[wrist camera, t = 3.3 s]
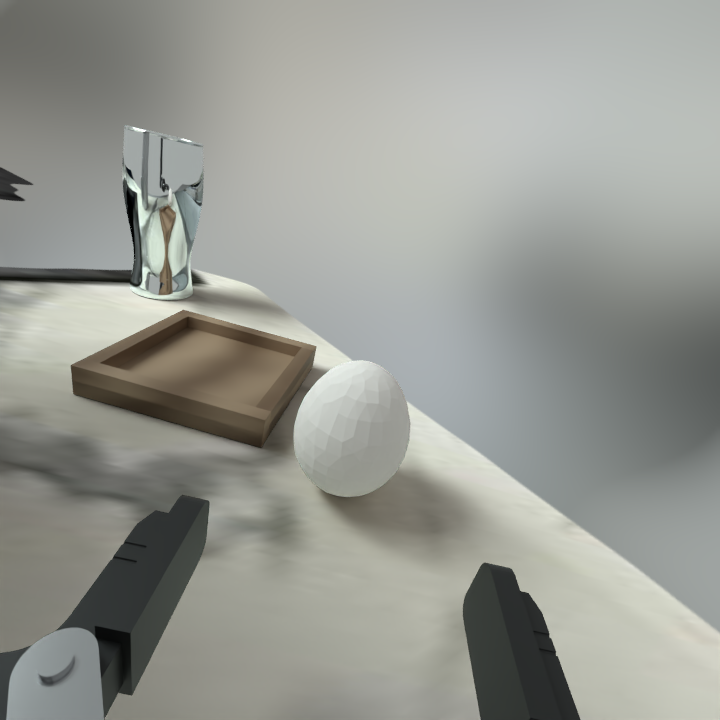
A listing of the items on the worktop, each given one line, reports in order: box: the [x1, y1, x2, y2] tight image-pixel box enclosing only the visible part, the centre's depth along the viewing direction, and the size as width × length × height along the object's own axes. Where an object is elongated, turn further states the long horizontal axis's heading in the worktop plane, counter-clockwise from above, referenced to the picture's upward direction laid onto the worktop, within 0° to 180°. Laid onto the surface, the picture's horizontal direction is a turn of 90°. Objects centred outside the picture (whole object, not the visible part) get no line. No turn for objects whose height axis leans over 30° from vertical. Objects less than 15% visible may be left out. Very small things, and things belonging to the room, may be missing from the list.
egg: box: [294, 360, 410, 497], centre depth 21 cm, size 6×6×8 cm
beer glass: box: [122, 125, 204, 300], centre depth 40 cm, size 7×7×15 cm
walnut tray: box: [71, 310, 316, 448], centre depth 29 cm, size 12×12×2 cm
